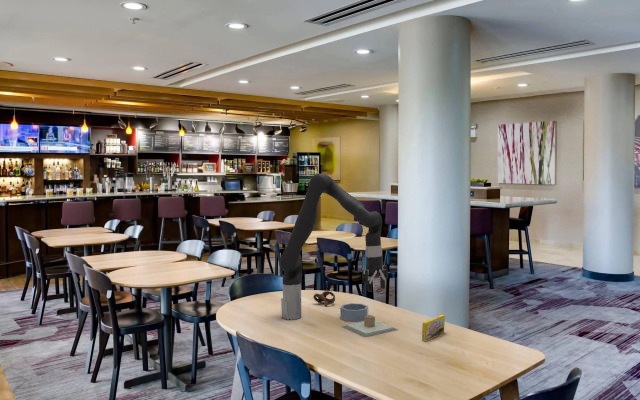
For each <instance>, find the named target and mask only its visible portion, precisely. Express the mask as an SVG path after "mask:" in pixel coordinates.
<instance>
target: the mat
mask: <svg viewBox="0 0 640 400" xmlns="http://www.w3.org/2000/svg"><path fill="white" fill-rule="evenodd" d="M341 328H342V329H345V330H347V331H349V332H352V333H354V334H356V335H359V336H361V337H363V338H364V339H365V338H369V337H373V336H379V335H383V334H388V333H391V332H396V331H397V332H398V331H399V329H398V328H395V327H393V330H388V331H384V332H379V333H375V334H370V335H364V334H362V333H359V332H357V331H355V330H353V329H350V328H348V327H347V325H342V326H341Z"/></svg>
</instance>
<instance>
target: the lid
mask: <svg viewBox="0 0 640 400" xmlns="http://www.w3.org/2000/svg"><path fill="white" fill-rule="evenodd" d="M346 326H347V327H348V328H350V329H353V330H355V331H357V332H359V333H362V334H364V335H370V334H375V333H379V332H384V331H388V330H393V328H394V327H393V326H390V325H388V324H385V323H382V322H380V321H378V320H376V317H375V316H373V315H371V314H368V316H364V321H359V322H354V323H350V324H349V323H348V324H347V325H346Z"/></svg>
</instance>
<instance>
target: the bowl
mask: <svg viewBox="0 0 640 400" xmlns="http://www.w3.org/2000/svg"><path fill="white" fill-rule="evenodd" d="M339 308H340V309H339V311H340V312H339V314H340V316H339V317H340V318H339V319H341V320H342V321H345V322H350V323H351V322H352V323H353V322H354V323H359V322H364V316H368V315H369V306H368V305H366V304H363V303H351V302H350V303H345V304H342V305H341V306H340V307H339Z"/></svg>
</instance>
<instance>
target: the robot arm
mask: <svg viewBox="0 0 640 400" xmlns="http://www.w3.org/2000/svg"><path fill="white" fill-rule="evenodd" d="M322 194H326V195H327V196H328V195H329V196H330V197H332V198H333V199H335V200H336V201H337V202H338V203H339V205H340V206H341V207H342V208H343V209H344V210H345V211H346V212H348V213H349V214H351V215H352V216H353V217H355V219H356V220H357V221H358V222H359V223H360V224H361V225H362V226H363V227H365V228H368V231H367V232H366V234H365V263H366V264H365V265H366V266H367V269H362V270H361V271H362V273H361V274H362V283H363V284H366V291H367V292H368V293H372V292H373V289H372V288H373V287H372V282H373V280H374V279H375V278H377V277H378V278H379V279H380V280H379V284H380V285H379V286H380V289H382V290H383V289H386V279H388V278H389V272H388V271H389V270H388V265H384V263H383V262H384V261H383V259H384V258H383V248H382V239H381V235H382V234H381V233H382V227H383V217H382V215H381V214H380V212H379V211H377V210H375V211H369V210H367V209H366V205H365V204H364V203H363V202H361V201H360V200H358V199H357V198H355V197H354V196H353V195H351V194H350V193H348V192H347V191H346V190H344V189H343V188H342V187H341V186H340V185H339V184H338V183H337V182H336V181H335V180H334V179H333V178H332V177H331V176H330V175H328V174H324V173H316V174H315V173H314V175H312V176H311V178H310V180H309V182H308V185H307V189H306V194H305V197H304V199H303V202H302V205H301V207H300V210H299V213H298V215H297V217H296V221H295V223H294V225H293V228H292V231H291V234H290V236H289V239H288V242H287V244H286V247H285V248H284V250H283V252H282V254H281V256H280V259H279V265H280V268H281V269H282V270H283V271H284V275H283V277H282V280H281V281H282V283H281V284H282V297H281V299H280V301H281V307H280V308H281V318H282V317H283V318H282V319H284V318H285V320H286V319H287V321H289V319H290V321H291V320H299V319H301V318H302V314H303V313H302V277H303V258H302V255H301V254H300V253H301V250H302V248H303V247H304V245H305V244H306V242H307V241H308V239H309V237H310V236H311V235H312V232H313V230H314V227H315V225H316V222H317V220H318V219H317V217H318V204H319V201H320V198H321V196H322Z"/></svg>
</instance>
